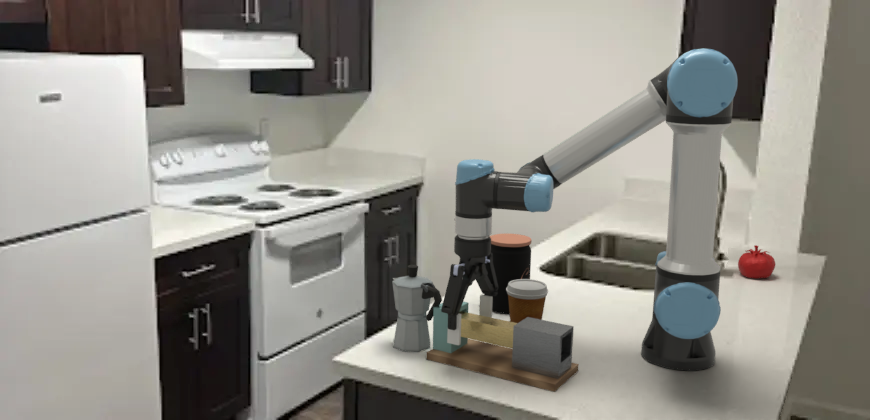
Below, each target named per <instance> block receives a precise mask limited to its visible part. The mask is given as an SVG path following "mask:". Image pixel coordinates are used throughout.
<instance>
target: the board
mask: <svg viewBox="0 0 870 420" xmlns="http://www.w3.org/2000/svg"><path fill="white" fill-rule="evenodd" d="M512 352H513V349H512V348H508V347H503V346H499V345H495V344H490V343H486V342H482V341H477V340H473V339H469V338H468V341H467V344H465V345H464V346H462V347H461V348H459V349H457V350H456V351H454V352H452V353H448V352H444V351H439V350H435V349H433V348H432V349H429V350H428V351H427V352H426V356H425V357H426V358H425V359H426V360H428V361H432V362H434V363H435V362H436V363H440V364H444V365H448V366H452V367H454V368H455V367H456V368H460V369H463V370H467V371H472V372H476V373H479V374H483V375H487V376H491V377H495V378H498V379H503V380H507V381H510V382H515V383H518V384H522V385H527V386H530V387H535V388H539V389H542V390H546V391H550V392H554V393H555V392H556V391H557V390H558V389H560V388H561V387H562V386H563V385H564V384H566V382H568V381H569V380H570V379H571V378H572V377H574V375H576V373H577V372H579V363H576V362H572V364H571V369H569V370H568V371H567V372H566V373H565V374H564V375H562V376H561V377H560V378H559V379H556V378H552V377H548V376H544V375H539V374H535V373H531V372H527V371H523V370H519V369H515V368H512Z"/></svg>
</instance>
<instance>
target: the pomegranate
mask: <svg viewBox="0 0 870 420" xmlns="http://www.w3.org/2000/svg"><path fill="white" fill-rule="evenodd" d="M753 247H754V250H753V249H752V248H750V249H748V250H747V249H746V250H745V252H744V253H742V254H741V256H740V257H739V259H738V262H737V268H738V271H739V272H740V274H741V275H742V276H743V277H745V278H748V279H756V280H757V279H768V278H769V277H771V276H772V274H773V272H774V270H775V268H776V261H775V258H774V256H772V255H770V252H769V251H767V250H765V251H763V249H759V245H756V244H755V245H754V246H753Z"/></svg>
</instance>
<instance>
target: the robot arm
mask: <svg viewBox="0 0 870 420" xmlns="http://www.w3.org/2000/svg"><path fill="white" fill-rule="evenodd" d="M738 81H739V80H738V74H737V71H736V68H735V66H734V63H732V61H731V60H730V59H729V57H727V56H726V55H725V54H723V53H722V52H721V51H719V50H715V49H711V48H706V47H705V48H694V49H691V50H687V51H686V52H684V53H682V54H681V55H679V56H678V57H677V58H676V59H674V61H673V62H672V63H671V64H670V65H668V67H666V68H665V69H664V70H663V71H661V72H660V73H659V74H657V75H656V76H654V77H652V78H651V79H650V80H648V82H647V87H646V88H644V89H643V90H642V91H640V92H638V93H637V94H635V95H633V96H632V97H631V98H629V99H627V100H626V101H624V102H623V103H621V104H620V105H618V106H617V107H614V108H613V109H612V110H610V111H608V112H607V113H606V114H604V115H602V116H601V117H599V118H598V119H596V120H595V121H592V122H591V123H590V124H589V125H587V126H585V127H584V128H582V129H581V130H578V131H577V132H575V133H574V134H573V135H571V136H570V137H568V138H566V139H565V140H563V141H562V142H560V143H559V144H557V145H555V146H553V147H552V148H551V149H549V150H548V151H546V152H544V153H543V154H542V155H540V156H538V157H537V158H535V159H534V160H532V161H530V162H527V163H526V164H524V165H522V166H521V167H520V168H519V169H518V171H517V172H507V171H497V170H495V167H494V163H493V161H491V160H487V159H486V160H485V159H475V158H474V159H471V158H470V159H464V160H461V161H459V162H458V164H457V166H456V178H455V182H454V185H455V213H454V214H455V216H454V223H455V225H454V233H455V234H456V235H455V236H454V244H453V246H454V249H453V250H454V251H453V252H454V254H455V255H457V256H458V257H459V261H458V264H454V263H451V264H450V270H449V279H448V281H447V286H446V289H445V293H444V297H443V300H442V303H443V305H442V309H441V312H443V313H447V314H448V332H447V343H450V344H454V345H460V344H461V314H460V313H459V311H460V309H461V306H462V303H463V302H465V301H464V300H465V298H466V295H467V293H468V290H469V287H470V286H472V284H473V283H474V281H476V283H477V285H478V288H479V289H480V291H481V293H482V294H480V295H479V313H478V315H481V316H486V317H491V318H493V311H492V301H493V297H492V296H497V294H498V291H497V290H498V283H497V278H496V274H495V270H494V265H493V254H492V253H491V238H490V236H492V235H493V234H492V233H493V231H492V230H493V229H492V227H493V225H492V223H493V209H494V210H495V209H496V210H507V211H508V210H509V211H520V212H530V213H536V212H537V213H546V212H549V211H550V210H551V208H552V204H553V199H554V190H555V189H557V188H558V187H560V186H561V185H563V183H566V182H567V181H569V180H570V179H572V178H574V177H576V176H577V175H579V174H581V173H582V172H583V171H585V170H587V169H589V168H590V167H592V166H594V165H595V164H597V163H599V162H601V161H602V160H603V159H605V158H607V157H608V156H610V155H612V154H613V153H614V152H617V151H618V150H619V149H621V148H623V147H625V146H626V145H628V144H630V143H632V141H635V140H636V139H638V138H639V137H641V136H643V135H644V134H647V132H649V131H651V130H652V129H654V128H655V127H657V126H659V125H661V124H662V123H664V122H665V124H666V125H667V126H668V127H669V128H670V129H671V130H672V132H673V133H672V134H673V135H672V137H673V138H672V149H671V150H672V152H671V165H670V166H671V167H670V183H669V184H670V186H669V187H670V188H669V201H668V218H667V219H668V220H667V232H666V235H667V237H666V250H665V251H661V252H659V253H658V255H657V257H656V262H655V280H654V288H653V289H654V290H653V291H654V293H653V294H654V295H653V302H652V303H653V305H652V317H651V321H650V323H649V326H648V328H647V331H646V333H645V335H644V337H643V339H642V343H641V351H640V353H641V357H642V358H644V360H646V361H648V362H650V363H651V364H653V365H656V366H659V367H662V368H666V369H672V370H677V371H701V370H706V369H708V368H709V369H710V367H713V366H714V365H715V363H716V348H715V345H714V344H715V343H714V340H713V336H712V330H714V328H715V327H716V325H717V323H718V321H719V319H720V316H721V305H720V304H721V303H720V301H719V297H720V294H719V293H720V282H721V281H720V280H721V269H722V268H721V266H720V265H719V264H718V262H716V260H715V257H714V247H715V235H716V234H715V232H716V221H717V220H716V219H717V207H718V206H717V205H718V204H717V203H718V191H719V177H720V176H719V175H720V165H721V164H720V162H721V150H722V139H723V138H722V137H723V135H722V134H723V133H724V132H725V131H726V130H727V129H728V128H729V127H730V126H732V121H733V107H734V105H733V104H734V97H735V95H736V92H737V89H738V83H739V82H738ZM491 283H493V284H491ZM495 290H496V291H495Z"/></svg>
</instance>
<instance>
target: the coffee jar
mask: <svg viewBox="0 0 870 420" xmlns="http://www.w3.org/2000/svg"><path fill="white" fill-rule="evenodd" d="M490 238H491V253H492V254H493V265H494V270H495V274H496V278H497V283H498V290H497V291H498V294H497V296H492V297H493V301H492V312H494V313H498V314H504V315H510V311H509V300H508V294H507V291H506V288H507V287H508V283H509V282H510V281H512V280H517V279H531V264H532V263H531V262H532V248H531V246H530V245H531V244H532V238H531V237H530V236H528V235H523V234H519V233H497V234H491V235H490ZM491 284H493V283H491ZM495 291H496V290H495Z"/></svg>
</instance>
